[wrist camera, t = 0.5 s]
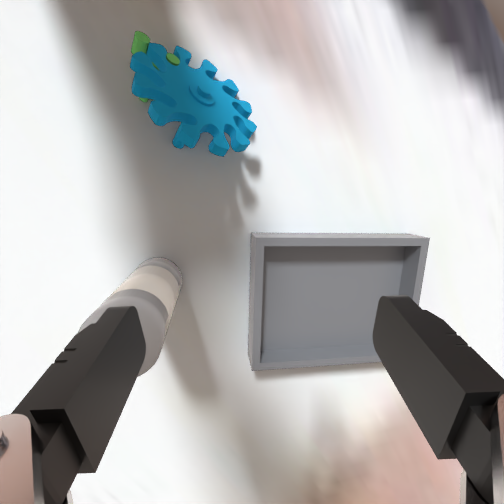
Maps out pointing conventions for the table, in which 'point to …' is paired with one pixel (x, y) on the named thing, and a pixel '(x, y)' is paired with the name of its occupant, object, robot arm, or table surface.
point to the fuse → (147, 302)
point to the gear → (189, 97)
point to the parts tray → (325, 294)
